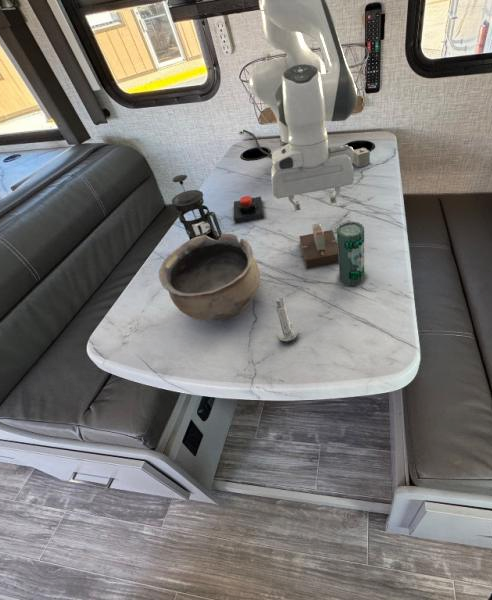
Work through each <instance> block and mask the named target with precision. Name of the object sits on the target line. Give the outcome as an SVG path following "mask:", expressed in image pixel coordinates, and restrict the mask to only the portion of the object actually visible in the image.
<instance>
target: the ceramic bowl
mask: <svg viewBox="0 0 492 600" xmlns="http://www.w3.org/2000/svg"><path fill="white" fill-rule="evenodd" d="M260 275H261V273H260V268H259V267H258V262H257V261H256V258H255V257H254V253H253V248H252V246H251V244H250V243H249V241H248V240H247V239H246V238H240V240H239V238H238V235H237V234H235V233H228V232H222V234H221V237H220V238H219V239H218V240H214V239H211V238H209V237H208V236H206V235H203V236H199V237H195V238H193V239H191V240H189V239H188V241H185V242H184V243H183V244H181V245H180V246H178V247H177V248H176V249H174V250H173V251H172V252H171V253H170V254H169V255H167V257H166V258H165V259H164V260H163V262H162V264H161V265H160V268H159V270H158V279H159V282H160V283H161V286H162V288H163V289H165V291H167V292H168V294H169V297H170V299H171V301H172V303H173V304H174V305H175V307H176V308H177V309H178V310H179V311H180V312H182V314H184V315H186V316H188V317H190V318H191V319H194V320H198V321H201V322H203V321H204V322H218V321H223V320H227V319H230V318H233V317H235V316H237V315H239V314H240V313H241V312H242V311H244V310H245V309H246V308H247V307H248V306H249V305H251V303H252V301H253V299H254V298H255V296H256V294H257V292H258V290H259V287H260V283H261V276H260Z"/></svg>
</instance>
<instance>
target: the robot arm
mask: <svg viewBox="0 0 492 600" xmlns="http://www.w3.org/2000/svg"><path fill="white" fill-rule="evenodd" d="M258 6H259V13H260V19H261V26H262V32H263V37H264V39H265V41H266V42H267V44H269V45H270V46H271V47H273V48H275V49H277V50H280V51H282V52H283V53H284V54H286V56H284V57H281V58H276V59H269V60H265V61H262V62H259V63H257V64H255V65H254V66H253V65H252V67H251V69H250V72H249V75H248V83H249V89H250V90H251V92H252V94H253V96H254V97H256V98H257V99H258V100H259V101H261V102H263V103H264V104H265V105H267V106H268V107H269V109H270V110H271V111H272V113H273V115H274V117H275V119H276V122H277V126H278V127H277V128H278V131H279V136H280V140H279V144H280V148H278V149H276V150H274V151H273V152H272V153H270V152H267V151H266V150H264V149H263V148H261V146H260V143H259V142H258V138H257V137H256V135H255V134H254V133H253V132H250V131H248V130H246V129H242V130H243V132H241V131H240V132H239V133H240V134H243V133H246V134H248V135H250V136H252V137H253V139H254V140H255V145H256V146H257V148H258V150H259V151H260V152H262V153H263V154H265V155H267V156H269V157H271V162H272V166H271V168H270V177H271V178H270V180H271V189H272V195H273V197H275V198H276V199H282V198H288V201H289V202H290V203H291V204H292V205H293V208H294V212H296V211H301V204H300V201H299V200H295V196H298V195H304V194H309V193H314V192H319V191H325V190H330V189H333V192H332V194H329V195H328V197H329V198H328V199H329V203H330V204H331V205H333V204H337V197H338V196H339V194H340V191H341V187H347V186H351V185H352V184H353V182H354V181H355V173H354V167H353V159H354V151H353V150H354V149H353V147H352V146H349V145H348V144H342V145H339V146H338V145H337V146H331V147H330V146H329V138H328V132H327V129H326V123H327V122H345V121H347V119H349V117H350V116H351V115H352V114H353V113H354V111H355V110H356V108H357V106H358V105H357V104H358V91H357V87H356V83H355V79H354V76H353V74H352V71H351V70H350V68H349V65H348V62H347V60H346V57H345V54H344V51H343V48H342V44H341V41H340V38H339V35H338V32H337V29H336V26H335V23H334V22H335V21H334V19H333V17H332V13H331V11H330V8H329V5H328V4H327V1H326V0H258ZM303 35H306V36H308V37H310V38H312V39H313V40H314V41H316V43H317V44H318V46H319V48H320V53H321V56H322V58H323V59H322V58H321V57H320V56H319V55H318V54H316V53H315V52H314V51H312V49H311V48H310V47H309V46H308V44H307V43H306V41H305V38H304V37H303ZM326 71H327V72H326Z"/></svg>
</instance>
